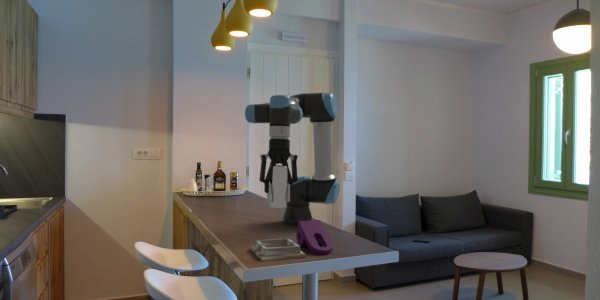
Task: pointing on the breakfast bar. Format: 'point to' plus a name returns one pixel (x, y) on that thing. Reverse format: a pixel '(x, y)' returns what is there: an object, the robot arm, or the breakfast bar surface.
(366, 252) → the breakfast bar surface
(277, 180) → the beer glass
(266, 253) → the cup holder
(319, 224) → the mounting bracket
